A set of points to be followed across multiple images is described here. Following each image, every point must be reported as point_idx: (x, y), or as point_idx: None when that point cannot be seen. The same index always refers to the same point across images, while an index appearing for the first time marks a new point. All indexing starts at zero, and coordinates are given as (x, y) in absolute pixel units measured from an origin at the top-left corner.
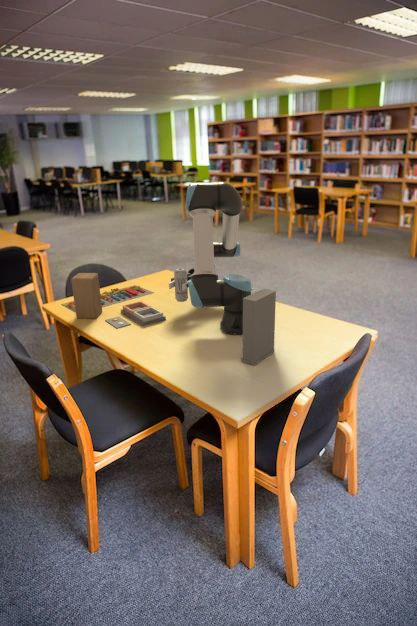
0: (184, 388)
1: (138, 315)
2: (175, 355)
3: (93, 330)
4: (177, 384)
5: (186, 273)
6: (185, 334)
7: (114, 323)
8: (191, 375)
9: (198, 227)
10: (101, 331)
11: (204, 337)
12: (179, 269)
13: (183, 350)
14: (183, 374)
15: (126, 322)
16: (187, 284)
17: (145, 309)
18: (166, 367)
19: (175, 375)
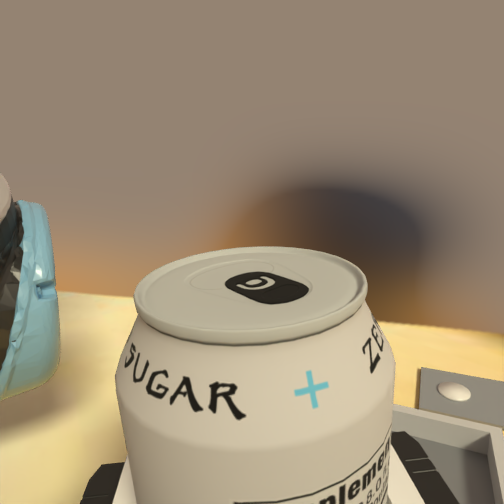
0: (72, 292)
1: (424, 413)
2: (117, 338)
3: (465, 339)
4: (87, 294)
5: (119, 361)
6: (116, 434)
7: (477, 385)
8: (62, 311)
9: None
10: (435, 343)
11: (17, 445)
12: (270, 276)
13: (98, 358)
14: (80, 308)
15: (451, 409)
16: (119, 466)
17: (501, 494)
18: (124, 310)
19: (97, 303)
